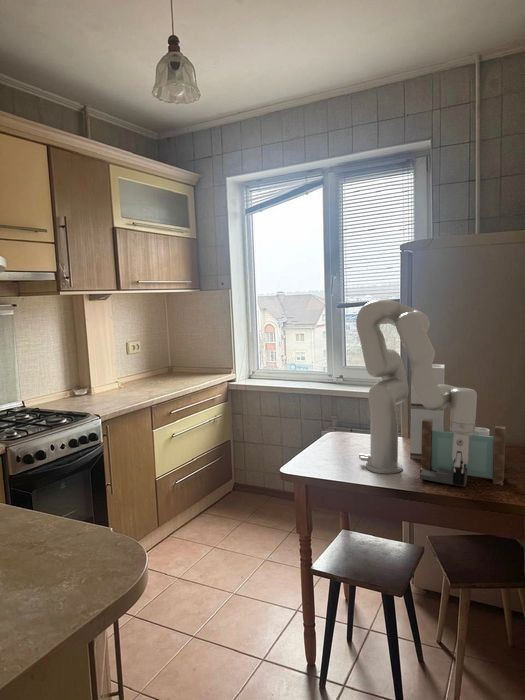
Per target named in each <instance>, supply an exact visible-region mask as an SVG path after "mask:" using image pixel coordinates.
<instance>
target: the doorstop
mask: <svg viewBox="0 0 525 700" xmlns="http://www.w3.org/2000/svg"><path fill="white" fill-rule="evenodd" d="M453 472H454V466H453V467H452V469H451V470H447V469H441V468H438V469H437V471H434V470H431V471H427V470H422V471H421V473H420V472H419V480H425V481H430V482H431V481H432V482H435V483H436V482H437V483H442V484H449V485H453V486H456V485H455V484H453ZM463 473H464V485H463V486H461V485H457V486H459V487H463V488H465V487H466V485H467V481H468V475H467V468H464V472H463Z"/></svg>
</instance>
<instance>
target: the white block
mask: <svg viewBox="0 0 525 700" xmlns="http://www.w3.org/2000/svg"><path fill="white" fill-rule="evenodd" d="M445 367H446V365H445V364H436V363H434V364H433V363H432V372H433V376H434V379H435V381H436V383H437V385H439V384H445V371H446V370H445ZM410 378H411V383H410V388H411V389H410V433H409V435H410V437H409V438H410V442H409V443H410V445H409V448H410V449H409V458H410V459H414V460H421V453H422V420H423V419H427V420H433V421H432V431H433V430H436V431H444V413H445V412H444V409H445V408H442V409H440V410H436V411H431V410H428V409H427V408H425V407H424V406H423V405H422V403H421V402H420V400H419V398H418V395H417V393H416V391H415V388H414V386H413V383H412V377H410Z"/></svg>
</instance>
